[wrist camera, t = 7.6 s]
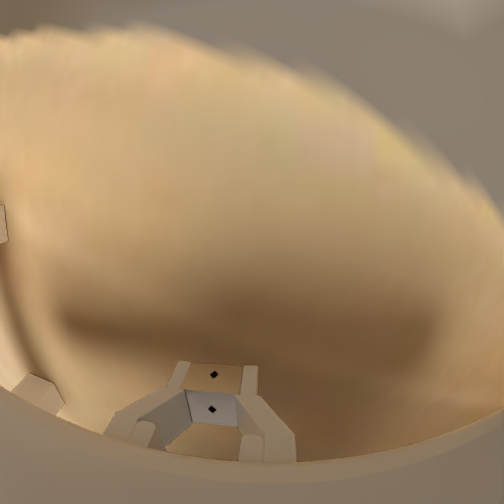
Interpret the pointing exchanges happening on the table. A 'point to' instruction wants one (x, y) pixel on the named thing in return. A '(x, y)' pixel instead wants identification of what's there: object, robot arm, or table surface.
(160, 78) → the table surface
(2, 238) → the bridge
